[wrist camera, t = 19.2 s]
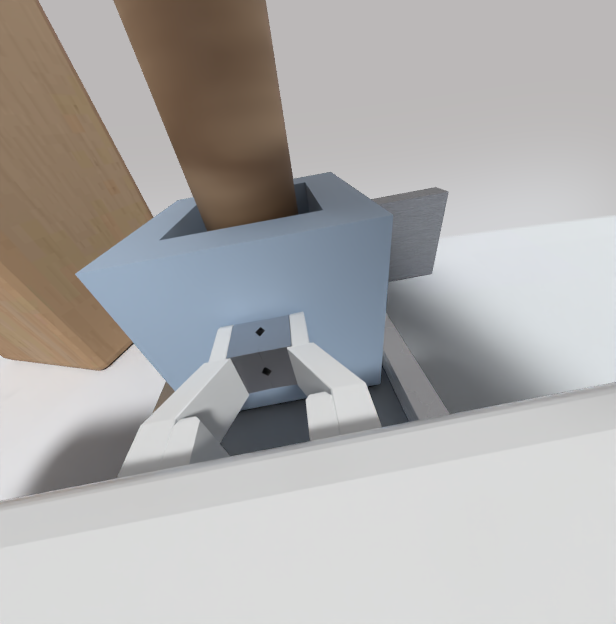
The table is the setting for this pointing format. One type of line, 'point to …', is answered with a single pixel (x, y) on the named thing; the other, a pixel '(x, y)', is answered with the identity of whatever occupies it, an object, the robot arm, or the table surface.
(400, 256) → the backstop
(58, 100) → the wooden block
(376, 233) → the blue hollow square block
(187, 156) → the dowel
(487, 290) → the table surface
